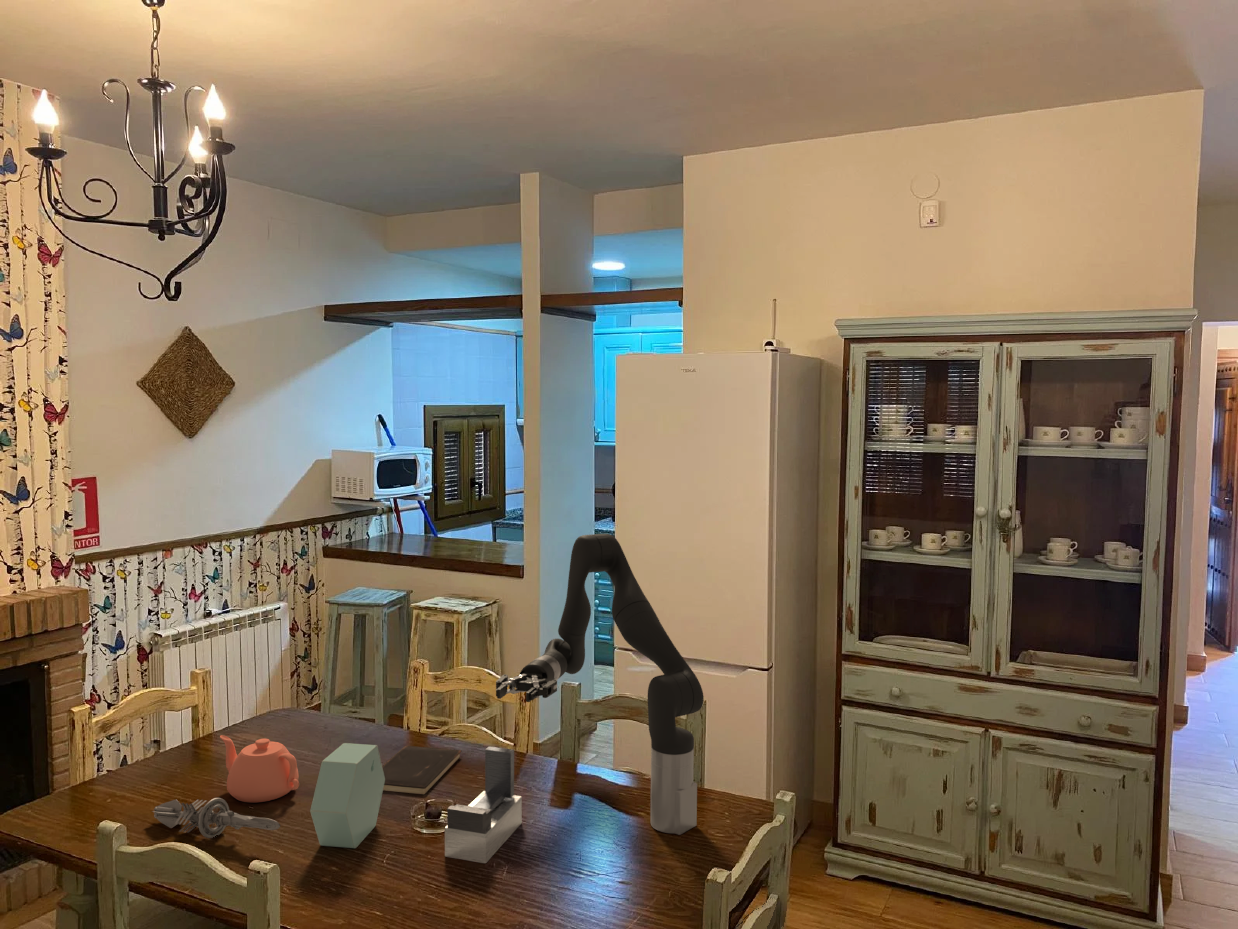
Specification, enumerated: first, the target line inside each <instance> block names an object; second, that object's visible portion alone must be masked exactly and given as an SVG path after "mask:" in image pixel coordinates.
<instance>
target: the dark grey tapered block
mask: <svg viewBox="0 0 1238 929" xmlns="http://www.w3.org/2000/svg"><path fill="white" fill-rule="evenodd" d="M484 761H485V762H484V764H485V765H484V766H485V767H484V770H485V771H484V773H485V774H484V779H485V780H484V781H485V782H484V783H485V784H484V786H485V788H484V789H485V790H484V791H485V794H486V795H485V796H484V797H483V798H482V799H480V800H479V801H478V802H477V803H476V804H475V805H474V806H473V807H478V808H484V809H491V811H492V810H493V809H494V808H495V807H496V806H497V805H498V804H499V803H500V802H501V801H502V800H503V799H504V798H505V797H506V798H511V797H512V796H513V795H515V749H511V748H503V747H497V746H496V747H495V746H488V747H487V748H485V750H484Z"/></svg>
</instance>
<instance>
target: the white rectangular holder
mask: <svg viewBox="0 0 1238 929" xmlns="http://www.w3.org/2000/svg"><path fill="white" fill-rule="evenodd" d="M485 795H486V794H485V790H483V791H482V792H481V793H480V794H478V796H476V798H475V799H474V800H473V801H471V802H470V803H469V804H468V805H463V804H455V805H449V806H448V807H447V811H446V813H447V814H446V815H447V820H446V821H447V823H446V824H447V825H446V826H445V827H444V857H447V858H451V859H456V860H457V859H458V860H463V861H469V862H476V863H480V864H486V863H488V862H489V860H490V859H492V857H493V856H494V855H495V854H496V853H497V852H498V850H499V849H500V848H501V847H502V846H503V844H504V843H506V841H507V840H508V839H509V838H510V837H511V836H512V835H513V834H514V832H515V831H516V830H517V829H518V828H519V827H520V826H521V825H522V822H523V821H522V816H523V815H522V810H523V809H522V808H523V807H522V806H523V805H522V804H523V803H522V800H523V799H522V796H521V795H516V794H514V795H513V796H512V797H511V798H506V797H505V798H504V799H503V800H502V801H501V802H500V803H499V804H498V805H497V806H496V807H495V808H494V809H493V810H492V811H491V809H484V808H478V807H473V806H474V805H475V804H476V803H477V802H478V801H479V800H480V799H482V798H483V797H484V796H485Z"/></svg>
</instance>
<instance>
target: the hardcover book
mask: <svg viewBox="0 0 1238 929" xmlns="http://www.w3.org/2000/svg"><path fill="white" fill-rule="evenodd" d="M461 752H462V750H461V749H451V748H450V749H448V748H437V747H429V746H428V747H425V746H413V745H404V746H403V747H402V748H400V750H399V751H397V752H396V753H395V754H394V755H393V756H392V757H390V758H389V759H388V760H386V762H385V763H384V764H382V768H383V772H384V776H385V783H384V788H383V791H387V792H399V793H407V794H408V793H409V794H418V795H425V794H427V792H428V791H429V790H430V789H431V788H432V787H433V786H434V785H435V784H436V782H438V781H439V779H441V777H442V776H443V775H444V774H446V772H447V771H448V770H449V769H450V768H452V766H453V765H454V764H455V763H456V762H457V761H458V760H459V759H460V757H461Z"/></svg>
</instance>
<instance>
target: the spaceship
mask: <svg viewBox="0 0 1238 929" xmlns="http://www.w3.org/2000/svg"><path fill="white" fill-rule="evenodd" d="M203 805H204V806H203ZM182 809H183V810H182ZM218 809H219V810H218ZM151 812H153V814H154V815H153V817H154V818H155V819H156V820H157V821H158V822H160V823H161V824H163V825H165V826H166V827H168V828H169V829H172V828H174V827H176V826H177V825H183V827H182V828H181V829H179V832H182V833H190V832H191V831H192V830H194V829H196V828H198V830H199V832H200V834H201V835H202V837H204V838H206V839H214V838H216V837H217V836H216V835H218V836H220V834H221V833H222V832H223V831H224V830H225V829H226V827H231V828H234V829H235V830H240V829H241V828H243V827H244V828H252V829H260V830H268V831H275V830H278V829H280V827H281V824H280V823H279V822H278V821H277V820H274V819H272V818H268V817H259V816H258V817H257V816H254V815H253V816H252V815H243V814H239V813H237V812H234V811H233V810H230V806H229V804H228V803H227V801H226V800H225V799H223V798H222V797H214V798H212V799H211V800H204V799H201V800H200V799H196V800H195V801H194V802H192V803H187V802H186V803H184V802H181V803H180V801H178V799H172V800H170V801H166V802H164V803H161V804H159V805H156V806H155V807H154V808H153V810H152V811H151ZM184 820H185V821H184ZM184 825H185V826H184ZM210 825H211V827H210ZM214 825H216V826H214ZM195 827H196V828H195ZM215 836H216V837H215ZM213 837H214V838H213Z"/></svg>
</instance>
